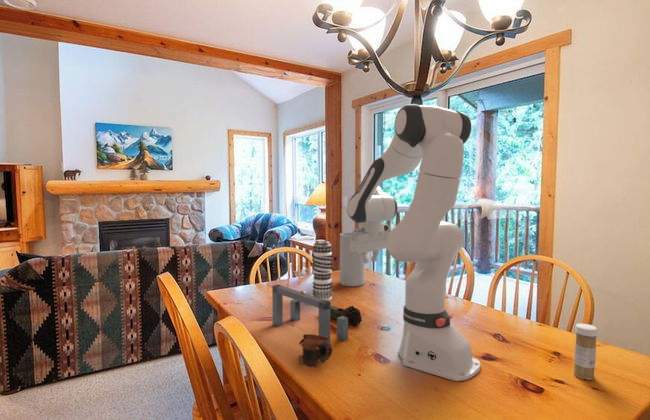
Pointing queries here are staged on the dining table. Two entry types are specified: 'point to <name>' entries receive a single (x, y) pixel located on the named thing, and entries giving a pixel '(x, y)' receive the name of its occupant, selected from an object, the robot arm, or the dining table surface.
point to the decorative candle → (322, 270)
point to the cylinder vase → (350, 264)
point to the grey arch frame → (305, 298)
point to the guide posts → (341, 321)
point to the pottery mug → (314, 350)
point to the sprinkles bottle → (585, 351)
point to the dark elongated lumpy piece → (346, 314)
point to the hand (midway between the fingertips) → (369, 262)
